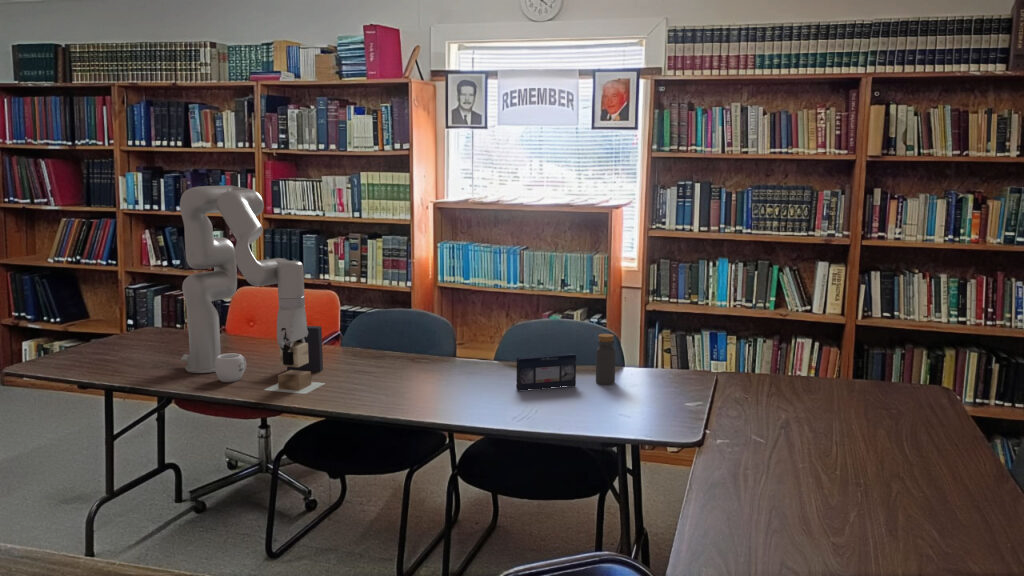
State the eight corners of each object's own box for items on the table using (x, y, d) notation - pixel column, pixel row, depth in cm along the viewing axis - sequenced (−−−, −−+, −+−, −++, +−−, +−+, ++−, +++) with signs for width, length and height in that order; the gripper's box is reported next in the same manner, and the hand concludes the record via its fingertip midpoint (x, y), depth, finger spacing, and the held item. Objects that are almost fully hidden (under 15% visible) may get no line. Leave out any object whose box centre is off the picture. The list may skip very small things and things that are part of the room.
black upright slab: (323, 370, 278) (322, 325, 276) (319, 374, 274) (318, 328, 271) (291, 369, 279) (289, 324, 277) (286, 373, 275) (284, 327, 273)
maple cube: (280, 366, 254) (279, 346, 253) (291, 361, 260) (290, 342, 259) (298, 367, 253) (297, 347, 252) (308, 362, 258) (307, 343, 257)
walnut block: (278, 388, 255) (277, 375, 254) (291, 382, 262) (290, 369, 261) (299, 390, 253) (298, 377, 252) (311, 384, 260) (310, 371, 259)
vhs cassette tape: (518, 391, 255) (518, 359, 253) (515, 389, 258) (515, 356, 256) (576, 387, 260) (577, 355, 258) (573, 384, 263) (573, 353, 261)
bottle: (592, 383, 264) (593, 335, 261) (600, 379, 269) (600, 332, 266) (610, 386, 261) (611, 337, 258) (617, 381, 266) (618, 334, 264)
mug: (232, 385, 261) (231, 360, 260) (210, 382, 264) (208, 357, 263) (257, 375, 272) (256, 351, 271) (235, 373, 275) (234, 349, 274)
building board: (263, 391, 254) (263, 389, 254) (285, 381, 265) (285, 379, 265) (305, 395, 250) (305, 393, 250) (325, 385, 261) (325, 383, 261)
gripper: (295, 297, 263) (298, 354, 265) (264, 307, 246) (267, 368, 249) (317, 298, 260) (320, 356, 263) (287, 308, 244) (290, 369, 247)
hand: (294, 361), depth 256 cm, fingers closed on maple cube, 6 cm apart
